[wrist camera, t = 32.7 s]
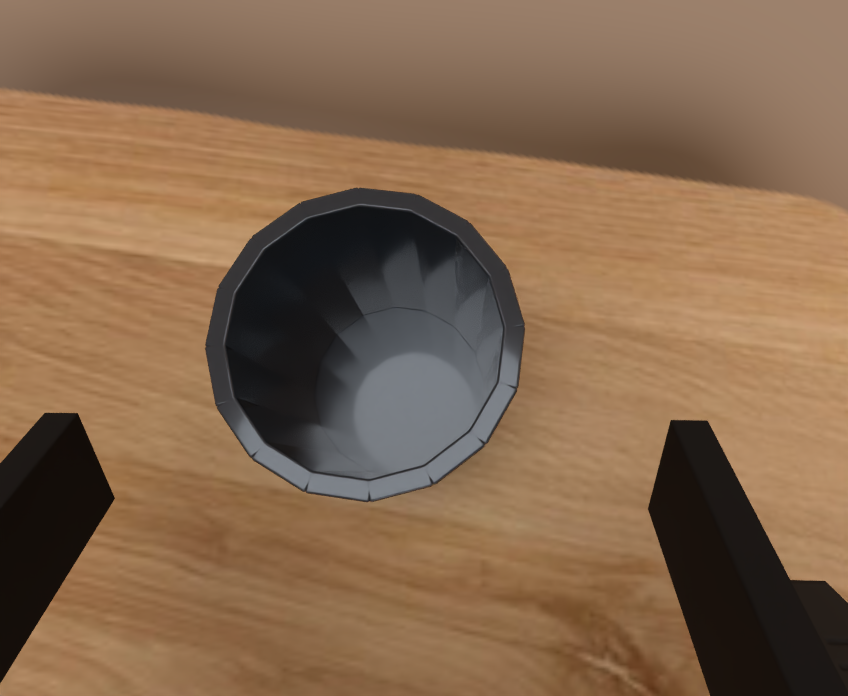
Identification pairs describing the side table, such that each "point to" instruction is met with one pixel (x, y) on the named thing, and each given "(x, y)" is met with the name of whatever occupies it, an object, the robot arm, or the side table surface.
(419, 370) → the slate cup
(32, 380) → the side table surface
